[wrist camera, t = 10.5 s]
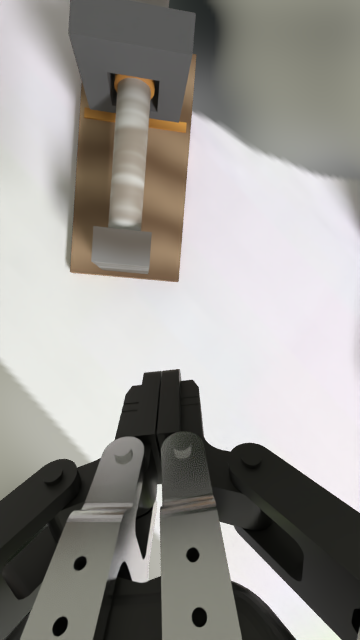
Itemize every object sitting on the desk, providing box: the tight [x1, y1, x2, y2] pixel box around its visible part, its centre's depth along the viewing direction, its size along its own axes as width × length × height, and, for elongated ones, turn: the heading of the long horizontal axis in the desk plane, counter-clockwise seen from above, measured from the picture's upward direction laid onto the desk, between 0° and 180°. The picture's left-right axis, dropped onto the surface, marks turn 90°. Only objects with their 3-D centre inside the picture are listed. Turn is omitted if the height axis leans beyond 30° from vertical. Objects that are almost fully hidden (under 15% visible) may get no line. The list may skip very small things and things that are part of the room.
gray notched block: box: [69, 0, 196, 123], centre depth 27 cm, size 3×9×9 cm, turn 85°
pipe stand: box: [70, 0, 196, 282], centre depth 31 cm, size 25×12×9 cm, turn 175°
